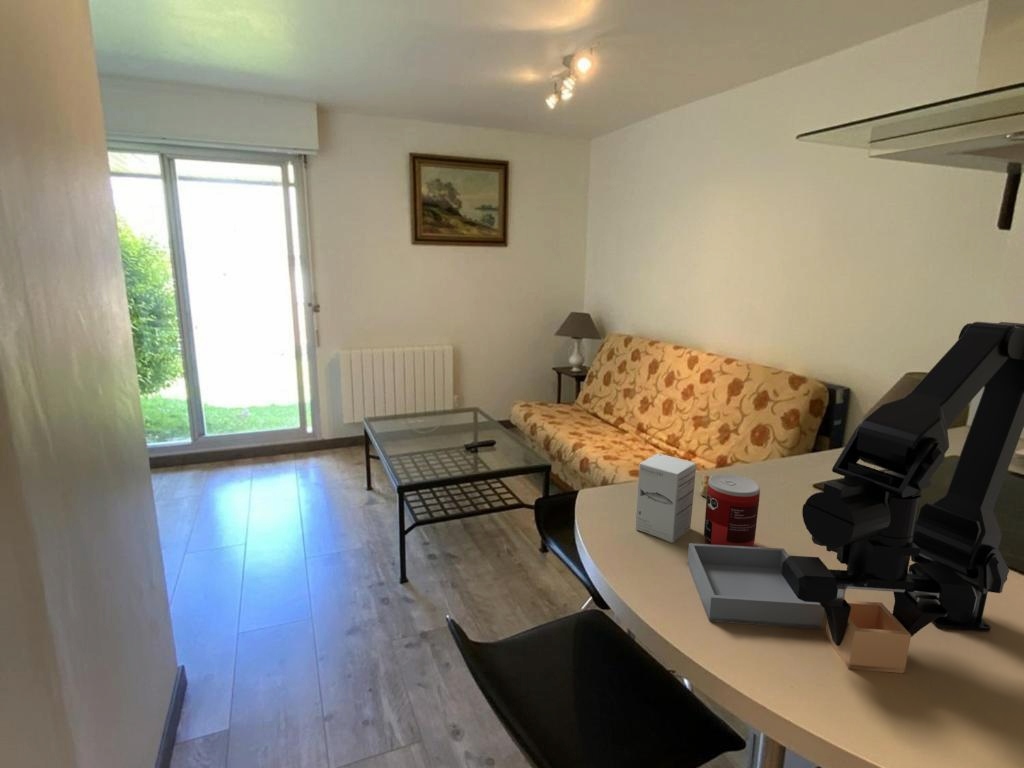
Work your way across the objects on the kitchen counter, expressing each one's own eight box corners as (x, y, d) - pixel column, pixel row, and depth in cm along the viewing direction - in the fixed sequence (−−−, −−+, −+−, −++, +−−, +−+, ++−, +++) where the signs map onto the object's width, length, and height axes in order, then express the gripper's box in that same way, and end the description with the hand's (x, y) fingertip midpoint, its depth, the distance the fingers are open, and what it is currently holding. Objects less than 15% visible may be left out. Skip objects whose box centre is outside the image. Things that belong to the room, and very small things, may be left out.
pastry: (747, 493, 111) (749, 475, 110) (750, 506, 105) (752, 488, 104) (699, 486, 114) (701, 469, 113) (699, 499, 108) (700, 482, 107)
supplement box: (633, 530, 95) (637, 462, 92) (654, 516, 100) (658, 451, 98) (672, 544, 90) (677, 473, 87) (692, 529, 95) (697, 461, 93)
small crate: (875, 638, 68) (881, 602, 67) (904, 673, 62) (911, 635, 61) (825, 634, 68) (830, 599, 67) (848, 668, 62) (854, 631, 61)
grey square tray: (781, 569, 83) (783, 548, 82) (821, 629, 69) (825, 605, 68) (687, 563, 84) (689, 543, 84) (709, 621, 71) (711, 597, 70)
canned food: (712, 528, 96) (717, 470, 93) (759, 543, 91) (766, 481, 88) (695, 545, 90) (701, 483, 87) (745, 562, 85) (752, 497, 83)
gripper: (926, 500, 68) (907, 609, 72) (772, 493, 70) (760, 599, 74) (993, 544, 57) (966, 670, 61) (808, 534, 59) (792, 657, 63)
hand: (863, 645), depth 65 cm, fingers closed on small crate, 6 cm apart
